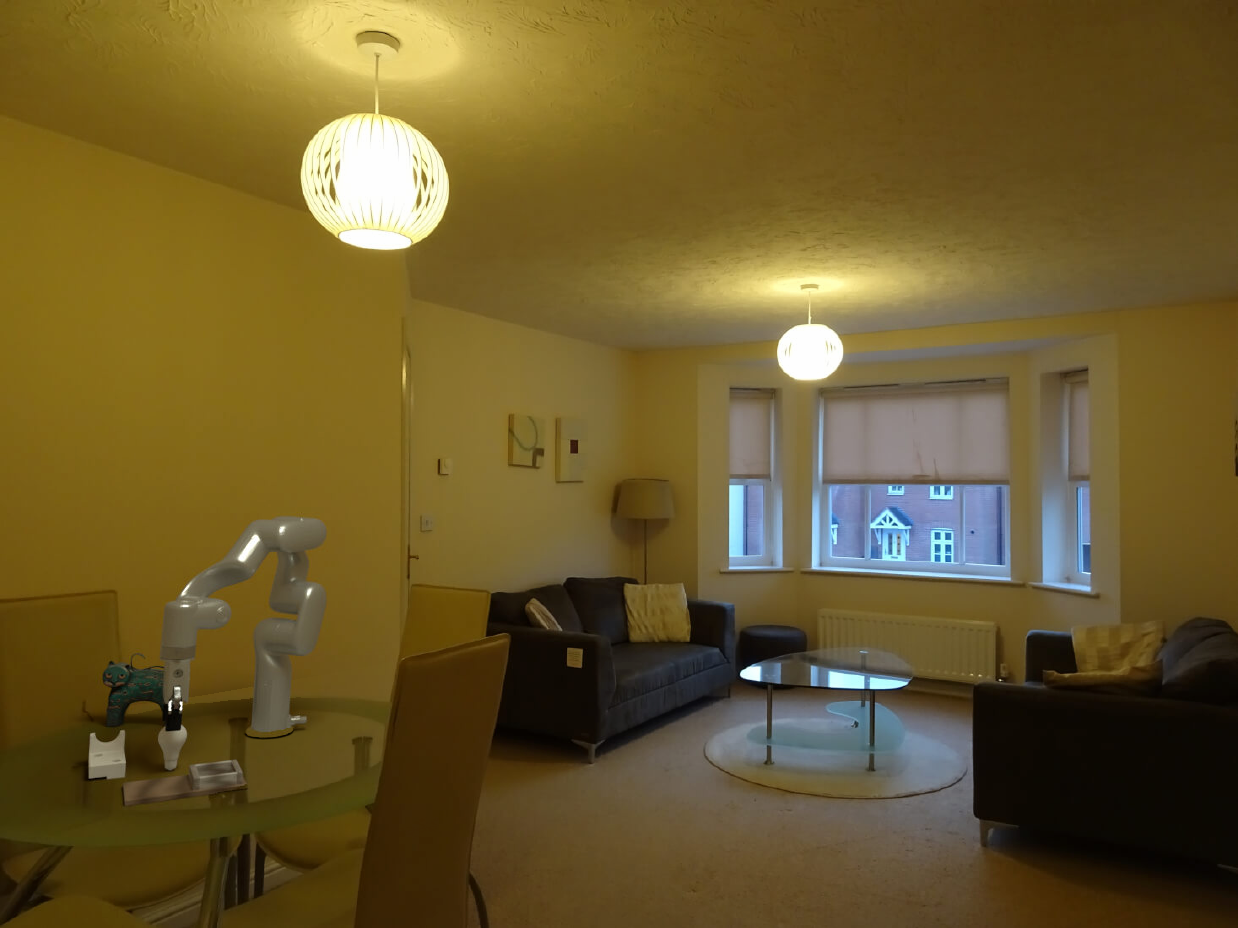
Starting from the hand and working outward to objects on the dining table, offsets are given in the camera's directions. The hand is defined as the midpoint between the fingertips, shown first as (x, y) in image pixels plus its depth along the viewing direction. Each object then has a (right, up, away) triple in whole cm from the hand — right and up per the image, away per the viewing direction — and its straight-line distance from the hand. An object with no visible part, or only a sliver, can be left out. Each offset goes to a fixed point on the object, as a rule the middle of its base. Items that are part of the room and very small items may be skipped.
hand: (171, 725), depth 198 cm
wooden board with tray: (+9, -11, -10) cm, 17 cm away
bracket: (-14, -10, -2) cm, 18 cm away
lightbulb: (0, -11, 0) cm, 11 cm away
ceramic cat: (-26, -11, +33) cm, 44 cm away
